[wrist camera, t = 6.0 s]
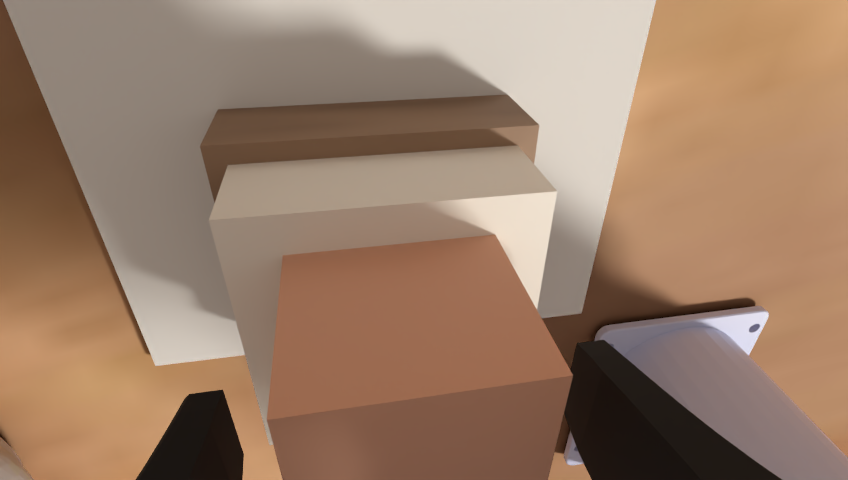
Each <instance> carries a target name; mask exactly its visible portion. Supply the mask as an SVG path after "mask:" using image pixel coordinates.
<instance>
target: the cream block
mask: <svg viewBox="0 0 848 480" xmlns="http://www.w3.org/2000/svg"><path fill="white" fill-rule="evenodd" d="M556 196H557V190H556V189H555V188H554V187H553V186H552V185H551V183H550V182H549V181H548V180H547V179H546V178H545V176H544V175H543V174H542V173H541V172H540V171H539V169H538V168H537V167H536V166H535V165H534V164H533V162H532V161H531V160H530V159H529V158H528V157H527V155H526V154H525V153H524V152H523V151H522V150H521V148H520V147H519V146H518V145H516V146H502V147H487V148H472V149H457V150H442V151H428V152H413V153H398V154H383V155H369V156H354V157H339V158H324V159H309V160H295V161H280V162H265V163H250V164H235V165H228V166H227V169H226V172H225V175H224V177H223V180H222V183H221V186H220V189H219V192H218V195H217V198H216V201H215V204H214V206H213V209H212V212H211V215H210V218H209V223H210V227H211V231H212V234H213V238H214V242H215V246H216V249H217V253H218V257H219V260H220V264H221V268H222V271H223V275H224V279H225V282H226V286H227V290H228V294H229V297H230V301H231V305H232V308H233V312H234V316H235V319H236V323H237V327H238V330H239V334H240V338H241V342H242V345H243V349H244V353H245V356H246V360H247V364H248V367H249V371H250V375H251V378H252V382H253V386H254V390H255V393H256V397H257V401H258V404H259V408H260V412H261V415H262V419H263V423H264V426H265V430H266V434H267V438H268V441H269V445H273V441H272V438H271V434H270V430H269V427H268V423H267V412H268V402H269V391H270V381H271V371H272V360H273V350H274V340H275V329H276V319H277V309H278V298H279V288H280V278H281V267H282V257H283V255H292V254H302V253H312V252H322V251H332V250H343V249H353V248H363V247H373V246H383V245H394V244H404V243H414V242H424V241H434V240H445V239H455V238H465V237H475V236H485V235H496V237H497V239H498V240H499V242H500V244H501V246H502V248H503V249H504V251H505V253H506V255H507V257H508V258H509V260H510V262H511V264H512V266H513V268H514V269H515V271H516V273H517V275H518V277H519V278H520V280H521V282H522V284H523V286H524V287H525V289H526V291H527V293H528V295H529V296H530V298H531V300H532V302H533V304H534V306H535V307H536V309H537V307H538V301H539V295H540V289H541V284H542V278H543V272H544V266H545V260H546V254H547V249H548V243H549V237H550V231H551V225H552V220H553V214H554V208H555V202H556Z"/></svg>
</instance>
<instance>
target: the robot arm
mask: <svg viewBox="0 0 848 480" xmlns="http://www.w3.org/2000/svg"><path fill="white" fill-rule="evenodd" d="M768 316H769V314H768V312H767V311H766V310H765V309H764V308H763V307H761V306H753V307H745V308H737V309H729V310H721V311H714V312H706V313H698V314H690V315H682V316H675V317H667V318H659V319H651V320H643V321H636V322H628V323H620V324H612V325H607V326H604V327H602V328H600V329H599V330H598V332H597V334H596V336H595V340H594V341H590V342H582V343H577V346H576V350H575V354H574V358H573V362H572V366H571V373H572V374H573V378H572V382H571V386H570V390H569V394H568V399H567V403H566V407H565V411H564V414H565V417H566V420H567V422H568V425H569V428H570V434H569V437H568V441H567V445H566V449H565V452H564V459H565V461H566V463H567V464H569V465H578V464H583V463H584V465H585V467H586V469H587V471H588V473H589V475H590V477H591V479H592V480H848V457H847V456H846V455H845V454H844V453H843V452H842V451H841V450H840V449H839V448H838V447H837V446H836V445H835V444H834V443H833V442H832V441H831V440H830V439H829V438H828V437H827V436H826V435H825V434H824V433H823V432H822V431H821V430H820V429H819V428H818V427H817V426H816V424H815V423H814V422H813V421H812V420H811V419H810V418H809V417H808V416H807V415H806V414H805V413H804V412H803V411H802V410H801V409H800V408H799V407H798V406H797V405H796V404H795V403H794V402H793V401H792V400H791V399H790V398H789V397H788V396H787V395H786V394H785V393H784V392H783V390H782V389H781V388H780V387H779V386H778V385H777V384H776V383H775V382H774V381H773V380H772V379H771V378H770V377H769V376H768V375H767V374H766V373H765V372H764V371H763V370H762V369H761V368H760V367H759V366H758V365H757V364H756V363H755V362H754V361H753V360H752V359H751V358H750V356H749V354H750V352H751V350H752V348H753V346H754V344H755V342H756V340H757V338H758V337H759V335H760V333H761V331H762V329H763V327H764V325H765V323H766V321H767V319H768ZM243 457H244V454H243V451H242V448H241V445H240V442H239V439H238V435H237V432H236V429H235V426H234V423H233V420H232V417H231V414H230V411H229V408H228V404H227V401H226V398H225V395H224V392H223V390H218V391H210V392H203V393H195V394H189V395H188V396H187V397H186V398H185V399H184V401H183V403H182V404H181V406H180V408H179V410H178V411H177V413H176V415H175V416H174V418H173V420H172V422H171V423H170V425H169V427H168V428H167V430H166V432H165V434H164V435H163V437H162V439H161V440H160V442H159V443H158V445H157V447H156V448H155V450H154V452H153V453H152V455H151V456H150V458H149V460H148V461H147V463H146V465H145V466H144V468H143V469H142V471H141V472H140V474H139V476H138V477H137V479H136V480H242V475H243Z"/></svg>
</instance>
